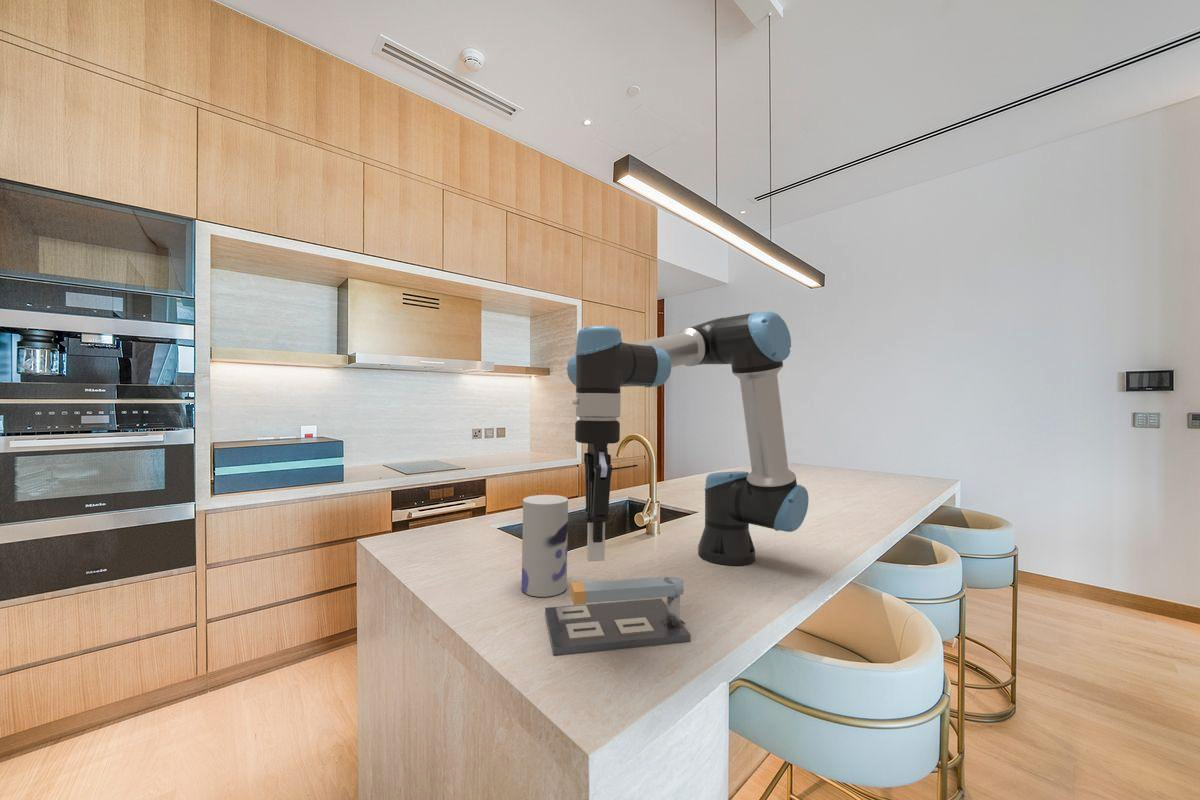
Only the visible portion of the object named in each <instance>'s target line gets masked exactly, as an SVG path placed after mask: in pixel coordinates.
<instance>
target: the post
mask: <svg viewBox="0 0 1200 800" xmlns="http://www.w3.org/2000/svg"><path fill="white" fill-rule="evenodd" d="M666 605H667V618H666V623H667V624H668V626H669V625H670V626H675V627H676V626H677V627H678V625H679V624H680V622H681V623H682V624H680V625H683V626H684V627H685V628H686V622H685V621H684V620H682V619H680V617H681V615H680V613H681V595H677V596H670V597H666ZM663 621H664V620H663ZM663 621H662V622H663ZM662 622H661V623H662ZM663 625H664V626H665V624H663ZM665 627H666V626H665ZM675 627H674V628H675ZM668 628H671V627H668ZM682 628H683V627H682ZM672 629H673V628H672ZM676 629H678V628H676ZM679 629H680V628H679Z"/></svg>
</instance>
